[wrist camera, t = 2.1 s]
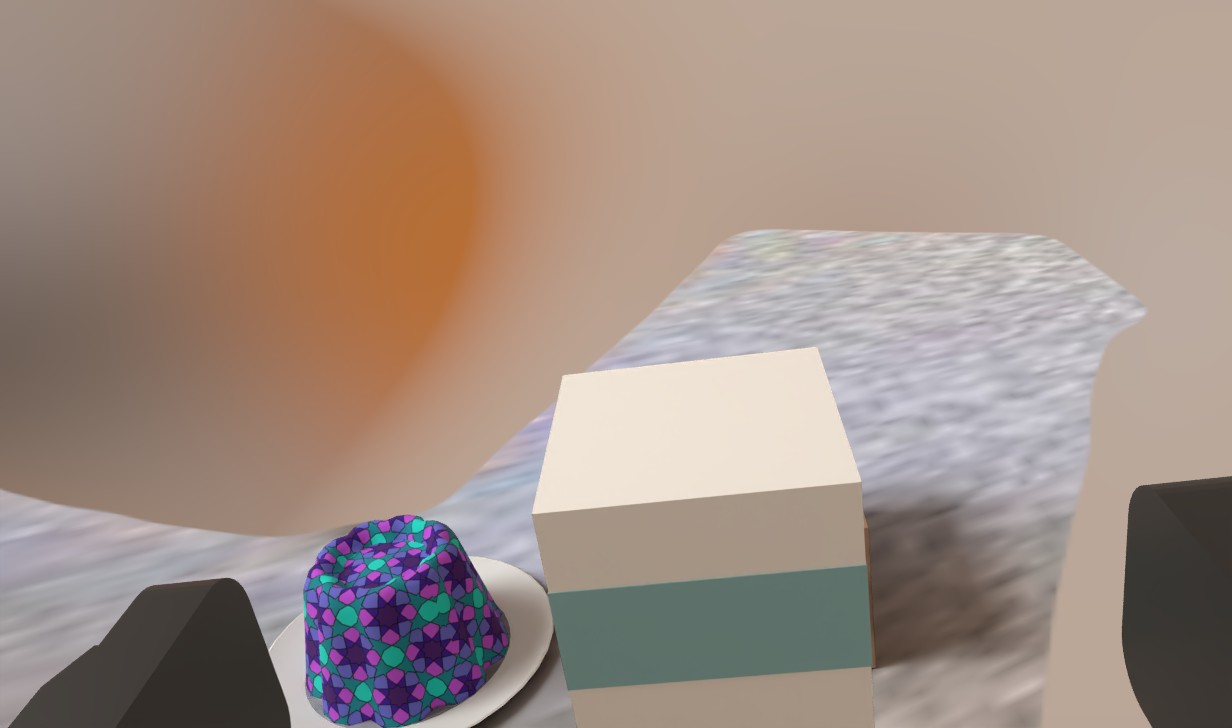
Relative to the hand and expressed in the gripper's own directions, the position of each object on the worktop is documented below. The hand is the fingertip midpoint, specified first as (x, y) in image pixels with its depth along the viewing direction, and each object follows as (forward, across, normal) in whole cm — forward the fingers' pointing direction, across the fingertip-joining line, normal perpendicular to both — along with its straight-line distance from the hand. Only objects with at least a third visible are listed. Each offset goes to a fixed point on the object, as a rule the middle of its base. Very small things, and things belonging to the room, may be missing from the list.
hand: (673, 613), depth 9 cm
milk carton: (+11, 0, +20) cm, 23 cm away
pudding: (+24, +13, +20) cm, 34 cm away
